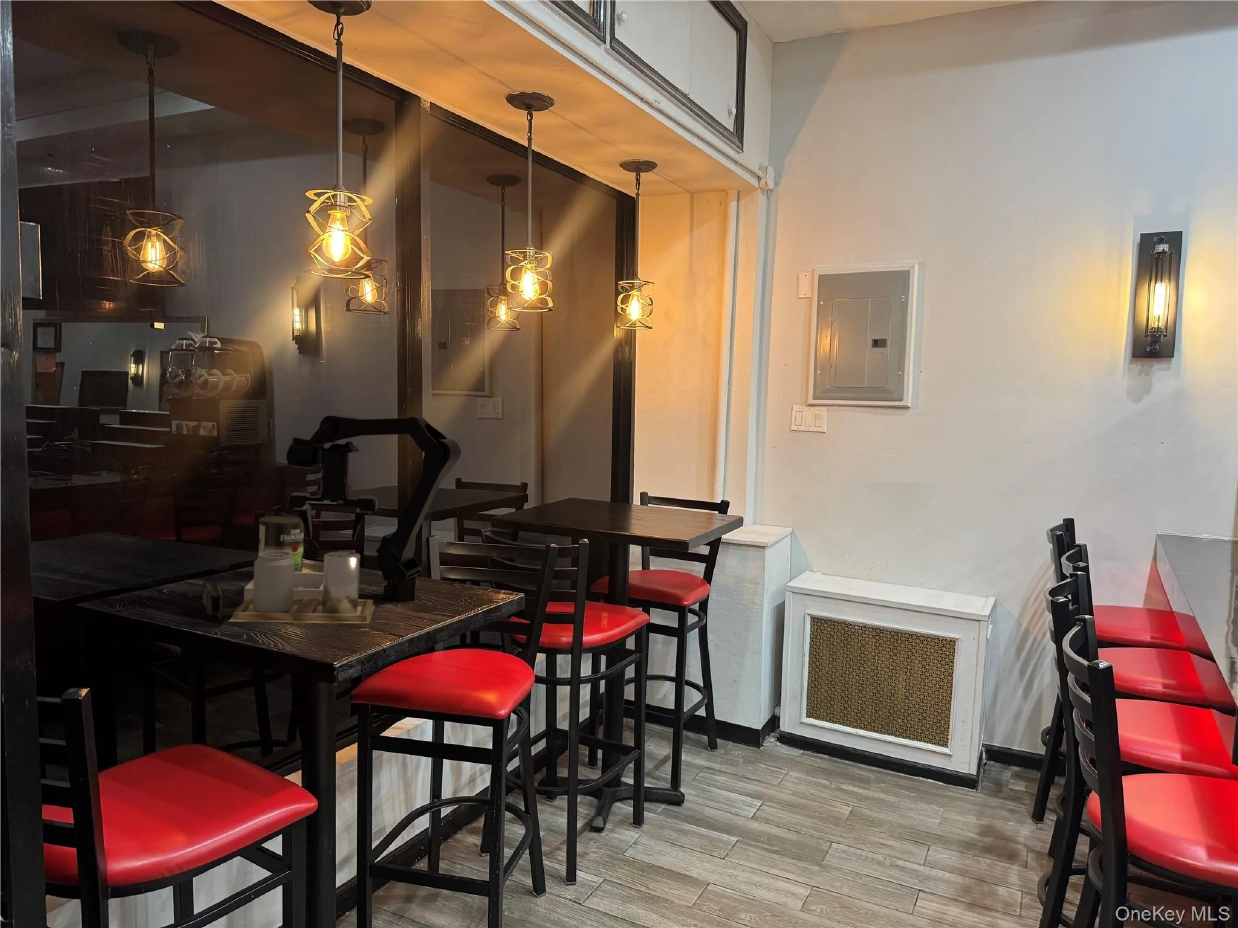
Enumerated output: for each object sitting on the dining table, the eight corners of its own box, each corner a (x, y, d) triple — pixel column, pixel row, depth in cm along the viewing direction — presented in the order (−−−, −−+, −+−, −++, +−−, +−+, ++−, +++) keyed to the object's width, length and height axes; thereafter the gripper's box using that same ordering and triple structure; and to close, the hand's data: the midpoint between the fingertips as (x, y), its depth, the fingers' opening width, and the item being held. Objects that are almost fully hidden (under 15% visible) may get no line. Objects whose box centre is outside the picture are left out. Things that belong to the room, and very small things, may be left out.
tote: (332, 589, 189) (332, 572, 188) (321, 608, 173) (322, 589, 173) (260, 588, 185) (261, 570, 185) (243, 606, 170) (244, 588, 170)
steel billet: (359, 608, 170) (361, 552, 169) (355, 617, 164) (358, 559, 162) (324, 607, 169) (326, 551, 168) (318, 617, 162) (321, 558, 161)
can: (277, 618, 159) (279, 558, 158) (244, 613, 161) (246, 554, 160) (300, 609, 166) (302, 551, 165) (268, 604, 168) (270, 547, 167)
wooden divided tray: (375, 610, 175) (375, 598, 174) (368, 630, 161) (369, 617, 161) (246, 608, 169) (246, 595, 169) (228, 628, 156) (228, 614, 155)
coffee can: (311, 576, 200) (314, 520, 198) (275, 583, 191) (277, 524, 189) (284, 568, 205) (286, 514, 203) (247, 575, 196) (250, 517, 194)
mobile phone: (200, 579, 172) (210, 595, 159) (216, 578, 173) (226, 594, 161) (199, 602, 172) (209, 620, 160) (215, 601, 174) (226, 619, 161)
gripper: (381, 469, 190) (378, 534, 192) (297, 464, 186) (294, 531, 188) (377, 475, 179) (373, 544, 181) (287, 470, 175) (284, 540, 177)
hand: (331, 539), depth 182 cm, fingers open, 9 cm apart
